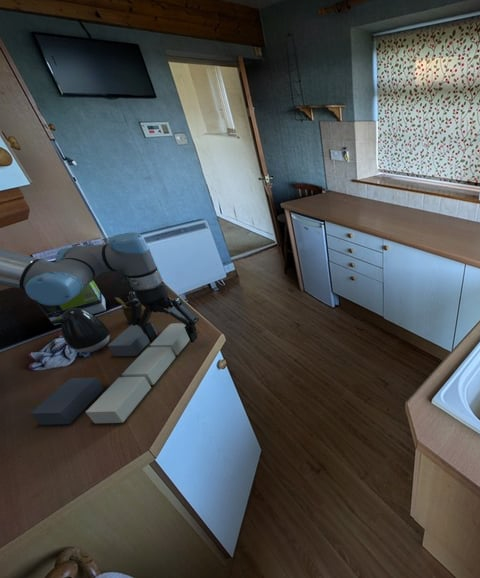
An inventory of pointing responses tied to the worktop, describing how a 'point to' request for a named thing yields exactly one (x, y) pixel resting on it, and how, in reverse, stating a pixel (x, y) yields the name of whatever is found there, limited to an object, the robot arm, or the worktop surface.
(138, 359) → the white book
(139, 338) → the grey book
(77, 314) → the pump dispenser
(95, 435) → the worktop surface
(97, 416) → the white book
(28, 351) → the worktop surface
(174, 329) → the white book
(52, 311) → the tea box
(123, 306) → the utensil holder
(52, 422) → the grey book
